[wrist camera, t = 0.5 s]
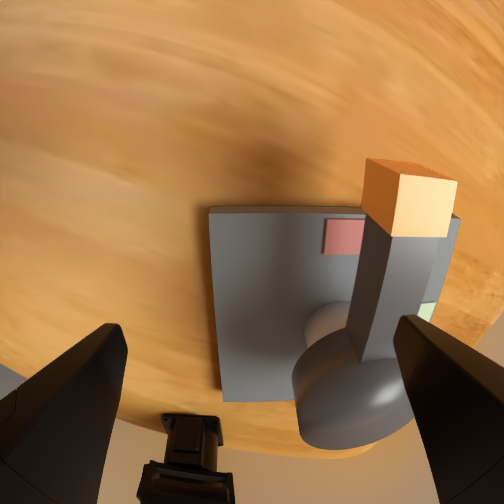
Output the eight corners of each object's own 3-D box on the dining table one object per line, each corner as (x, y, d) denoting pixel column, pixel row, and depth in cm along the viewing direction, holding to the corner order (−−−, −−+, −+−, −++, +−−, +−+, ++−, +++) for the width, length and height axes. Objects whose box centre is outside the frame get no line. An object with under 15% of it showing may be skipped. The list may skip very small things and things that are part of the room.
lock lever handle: (386, 395, 20) (402, 437, 17) (286, 407, 20) (292, 455, 16) (455, 169, 13) (508, 193, 9) (310, 154, 13) (339, 173, 9)
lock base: (397, 375, 28) (415, 416, 23) (223, 390, 28) (221, 439, 22) (450, 211, 20) (495, 242, 15) (210, 206, 20) (199, 242, 15)
